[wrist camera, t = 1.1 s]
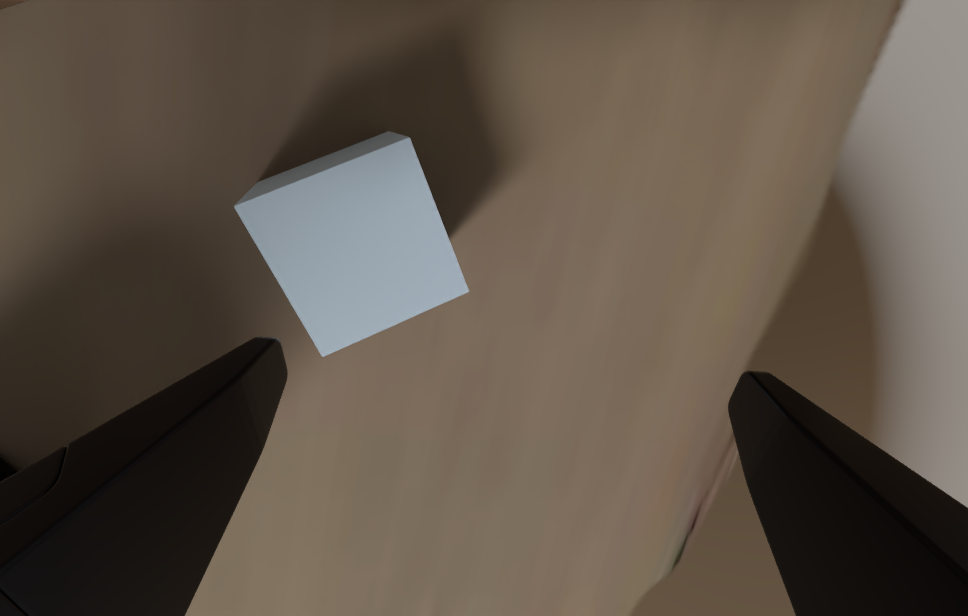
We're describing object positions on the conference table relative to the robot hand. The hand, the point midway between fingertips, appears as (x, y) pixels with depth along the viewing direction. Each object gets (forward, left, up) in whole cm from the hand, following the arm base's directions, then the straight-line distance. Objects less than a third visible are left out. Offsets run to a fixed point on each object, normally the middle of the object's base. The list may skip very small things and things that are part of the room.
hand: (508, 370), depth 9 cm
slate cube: (-2, +1, -13) cm, 13 cm away
